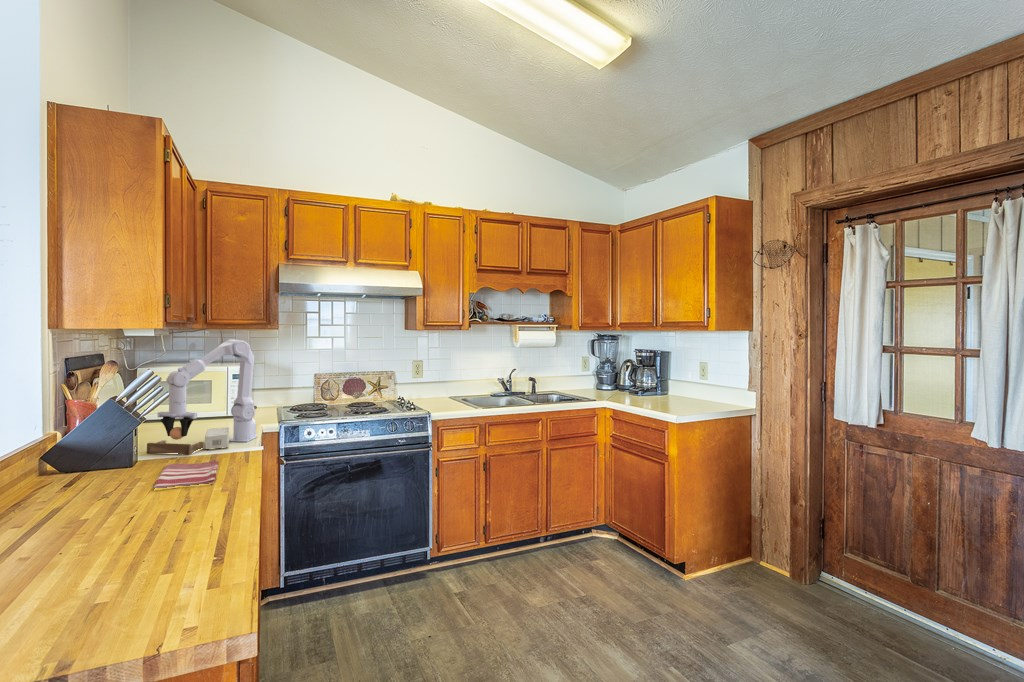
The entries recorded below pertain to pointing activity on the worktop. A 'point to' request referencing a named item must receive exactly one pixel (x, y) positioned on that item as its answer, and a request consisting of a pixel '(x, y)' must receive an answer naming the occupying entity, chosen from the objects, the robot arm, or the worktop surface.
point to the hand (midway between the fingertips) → (177, 435)
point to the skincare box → (217, 438)
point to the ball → (176, 433)
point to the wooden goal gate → (173, 447)
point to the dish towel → (187, 474)
